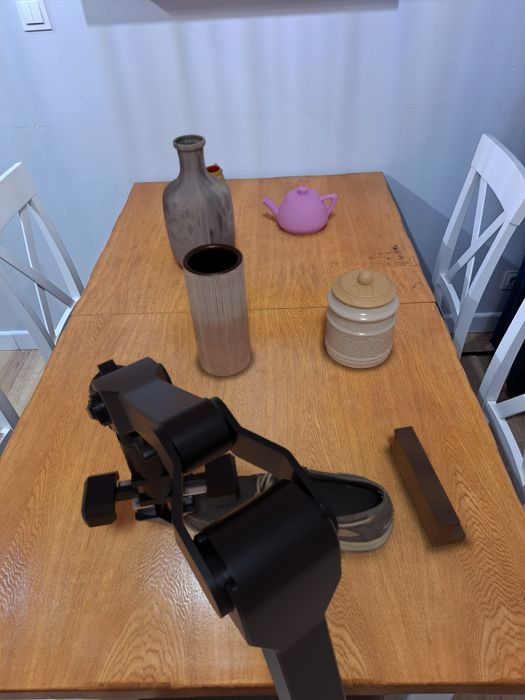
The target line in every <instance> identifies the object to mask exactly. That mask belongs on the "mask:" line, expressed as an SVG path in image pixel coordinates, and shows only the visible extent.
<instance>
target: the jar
mask: <svg viewBox="0 0 525 700" xmlns="http://www.w3.org/2000/svg"><path fill="white" fill-rule="evenodd" d="M331 285H332V286H331V287H330V289H329V291H328V292H327V295H326V302H327V307H326V311H325V315H326V323H325V324H326V325H325V326H326V327H325V333H324V345H325V350H326V352H327V355H328V356H329V357H330V358H331V359H332V360H333V361H334V362H336V363H338V364H340V365H342V366H344V367H349V368H351V369H368V368H373V367H376V366H379V365H380V364H382V363H383V362H385V361H386V359H388V357H389V355H390V353H391V351H392V348H393V344H394V343H393V341H394V339H393V337H394V332H395V327H396V323H397V321H398V314H397V311H398V310H399V307H400V303H401V302H400V297H399V294H398V291H397V290H398V289H397V285H396V283H395V282H394V281H393V280H392V279H391V278H389V277H388V276H386V274H385V275H384V274H383V273H381V272H379V271H375V270H372V269H362V268H361V269H353V270H350V271H347V272H344V273H342V274H340V275H338V276H337V277H336V278H335V279H334V281H333V282H332V284H331Z"/></svg>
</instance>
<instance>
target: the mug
mask: <svg viewBox="0 0 525 700" xmlns="http://www.w3.org/2000/svg"><path fill="white" fill-rule="evenodd" d="M206 169H207V171H208V172H209V173H210V174H211V175H214V176H216V177H219V178H221V179H222V180H223V181H225V182H226V178H225V176H224V173H223V172H224V169H223V168H221V166H220V165H219V164H218V163H216V162H213V164H210V165H208V166H206Z"/></svg>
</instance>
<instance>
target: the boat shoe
mask: <svg viewBox="0 0 525 700" xmlns="http://www.w3.org/2000/svg"><path fill="white" fill-rule="evenodd" d="M301 467H302V468H303V469H304V471H305V472H306V473H307V475H308V476H309V477H310V479H311V480H312V481H313V483H314V484H315V486H316V487H317V488H318V490H319V491H320V492H321V494H322V495H323V496H324V498H325V499H326V500H327V502H328V504H329V505H330V507H331V508H332V510H333V512H334V514H335V516H336V518H337V521H338V525H339V533H338V537H339V540H340V548H341V552H345V553H351V554H366V553H371V552H374V551H376V550H379V549H380V548H381V547H384V545H386V544H387V542H388V541H389V540H390V537H391V536H392V534H393V531H394V527H395V526H394V525H395V518H394V517H395V508H394V504H393V502H392V498H391V497H390V494H389V493H388V491H387V489H386V488H385V487H384V486H383V485H381V484H380V483H378V482H376V481H373V480H371V479H369V478H368V477H366V476H363V475H359V474H354V473H349V472H336V473H335V472H329V471H321V470H315V469H313V468H312V469H311V468H310V469H308V467H307V466H304V465H301ZM238 481H239V488H240V495H241V498H240V499H239V500H238V501H237V502H235V503H229V504H224V505H218V506H215V505H212V504H209V501H208V496H207V492H205V493H200V494H194V496H195V510H194V511H193V512H191V513H187V514H186V515H185V516H184V517H183V524H184V526H185V527H186V528H188V529H189V530H190V531H191V532H193V533H195V535H196V534H198V533H199V531H200V530H202V529H203V528H205V527H206V526H208V525H210V524H211V523H213V522H214V521H216V520H218V519H219V518H221V517H222V516H224V515H225V514H227V513H229V512H230V511H232V510H233V509H235V508H237V507H238V506H240V505H241V504H243V503H245V502H246V501H248V500H249V499H251V498H253V497H254V496H256V495H257V494H259V493H260V492H262V491H264V490H265V489H267V488H268V487H270V486H272V485H273V484H275V483H276V482H278V481H280V480H279V479H278V478H277V477H276V476H274V475H272V474H270V473H268V472H259V473H254V474H253V473H252V474H250V475H238Z"/></svg>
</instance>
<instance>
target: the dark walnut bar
mask: <svg viewBox="0 0 525 700" xmlns="http://www.w3.org/2000/svg"><path fill="white" fill-rule="evenodd" d="M393 434H394V436H393V438H392V444H391V449H390V453H391V456H392V458H393V460H394V462H395V465H396V467H397V469H398V471H399V474H400V477H401V478H402V481H403V483H404V485H405V487H406V490H407V492H408V494H409V496H410V499H411V501H412V503H413V506H414V508H415V511H416V513H417V515H418V517H419V519H420V522H421V524H422V526H423V528H424V531H425V532H426V535H427V537H428V539H429V542H430V544H431V546H432V548H437V547H443V546H448V545H452V544H458V543H459V544H460V543H464V542H465V539H466V538H467V534H466V533H465V531H464V528H463V527H462V525H461V520H460V518H459V516H458V514H457V512H456V510H455V508H454V506H453V504H452V502H451V500H450V498H449V496H448V494H447V492H446V490H445V489H444V486H443V485H442V482H441V480H440V479H439V477H438V475H437V473H436V471H435V469H434V467H433V465H432V463H431V461H430V459H429V457H428V455H427V453H426V451H425V449H424V447H423V445H422V443H421V440H420V439H419V437H418V436H417V433H416V432H415V429H414V427H413V426H412V425H409V426H402V427H396V428H394V429H393Z"/></svg>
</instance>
